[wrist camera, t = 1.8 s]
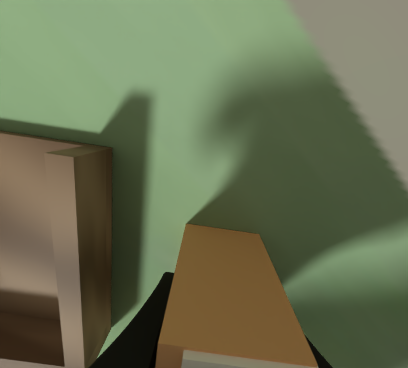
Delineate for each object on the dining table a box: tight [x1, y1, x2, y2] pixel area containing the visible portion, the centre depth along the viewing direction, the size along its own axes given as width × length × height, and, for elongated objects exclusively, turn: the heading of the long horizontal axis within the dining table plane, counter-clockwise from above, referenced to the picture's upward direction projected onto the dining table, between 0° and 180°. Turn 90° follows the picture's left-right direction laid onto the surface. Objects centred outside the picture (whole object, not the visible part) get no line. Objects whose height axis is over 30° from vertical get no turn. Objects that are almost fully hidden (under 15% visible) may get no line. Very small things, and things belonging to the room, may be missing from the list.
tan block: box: [155, 224, 318, 368], centre depth 8 cm, size 6×4×6 cm, turn 172°
